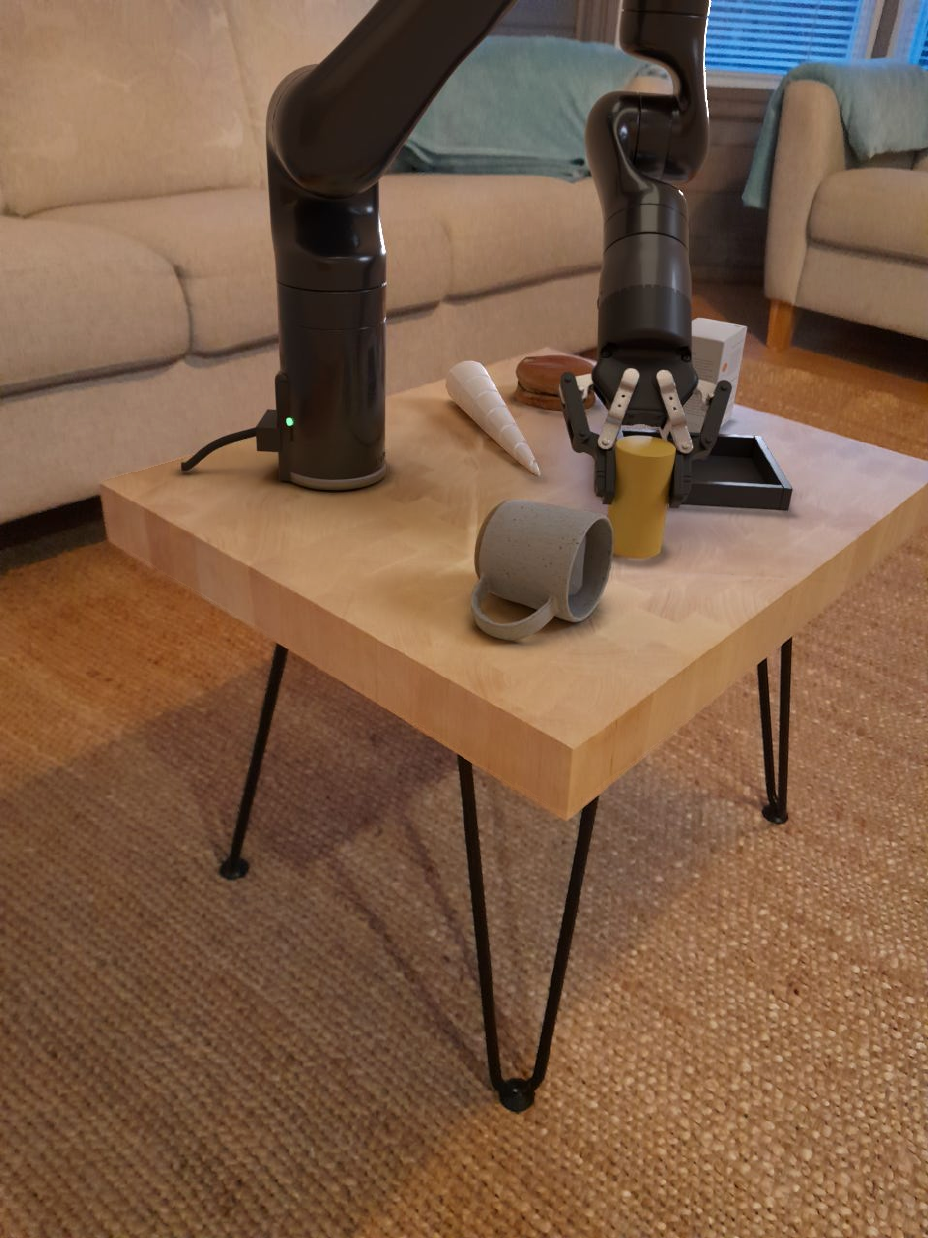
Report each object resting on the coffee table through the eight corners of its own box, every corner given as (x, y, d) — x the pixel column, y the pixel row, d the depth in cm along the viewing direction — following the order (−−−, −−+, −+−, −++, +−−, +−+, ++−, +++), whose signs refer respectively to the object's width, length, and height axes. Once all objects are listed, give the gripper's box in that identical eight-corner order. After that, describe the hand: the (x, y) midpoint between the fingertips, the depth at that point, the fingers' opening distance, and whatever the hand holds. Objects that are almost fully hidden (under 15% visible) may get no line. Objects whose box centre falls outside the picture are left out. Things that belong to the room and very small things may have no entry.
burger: (599, 416, 113) (603, 374, 111) (513, 412, 113) (516, 370, 111) (593, 389, 122) (597, 350, 120) (514, 385, 122) (516, 346, 120)
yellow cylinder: (605, 562, 83) (618, 454, 78) (601, 537, 87) (613, 433, 82) (663, 565, 82) (679, 457, 78) (656, 540, 86) (671, 436, 82)
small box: (683, 411, 116) (697, 316, 111) (731, 421, 114) (749, 324, 109) (656, 430, 110) (670, 330, 105) (707, 442, 108) (724, 340, 103)
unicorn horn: (499, 482, 96) (503, 432, 93) (443, 401, 116) (445, 358, 113) (548, 480, 97) (553, 430, 94) (484, 400, 117) (487, 358, 114)
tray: (622, 505, 92) (625, 479, 91) (610, 451, 104) (613, 427, 103) (787, 515, 92) (793, 488, 91) (756, 459, 104) (761, 435, 103)
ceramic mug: (513, 567, 81) (519, 475, 77) (610, 596, 77) (622, 501, 73) (441, 625, 73) (444, 525, 69) (545, 661, 69) (554, 558, 65)
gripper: (560, 276, 81) (553, 478, 77) (744, 285, 81) (748, 489, 77) (553, 327, 89) (545, 515, 84) (721, 336, 88) (723, 525, 84)
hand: (642, 501), depth 80 cm, fingers closed on yellow cylinder, 4 cm apart
